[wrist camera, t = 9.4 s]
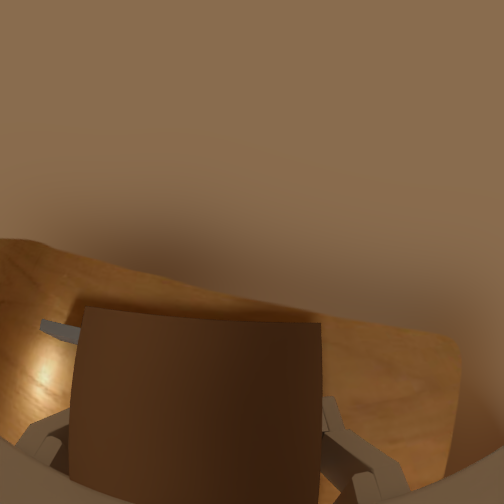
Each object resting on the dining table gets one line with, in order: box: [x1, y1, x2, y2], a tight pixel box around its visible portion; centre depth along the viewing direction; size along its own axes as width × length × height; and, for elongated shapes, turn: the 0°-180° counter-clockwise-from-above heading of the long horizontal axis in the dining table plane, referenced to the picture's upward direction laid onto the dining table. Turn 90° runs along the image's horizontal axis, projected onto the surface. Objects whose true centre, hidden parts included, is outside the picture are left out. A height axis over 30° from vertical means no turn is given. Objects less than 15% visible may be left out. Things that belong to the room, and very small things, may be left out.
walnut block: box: [68, 306, 322, 504], centre depth 8 cm, size 5×5×10 cm
